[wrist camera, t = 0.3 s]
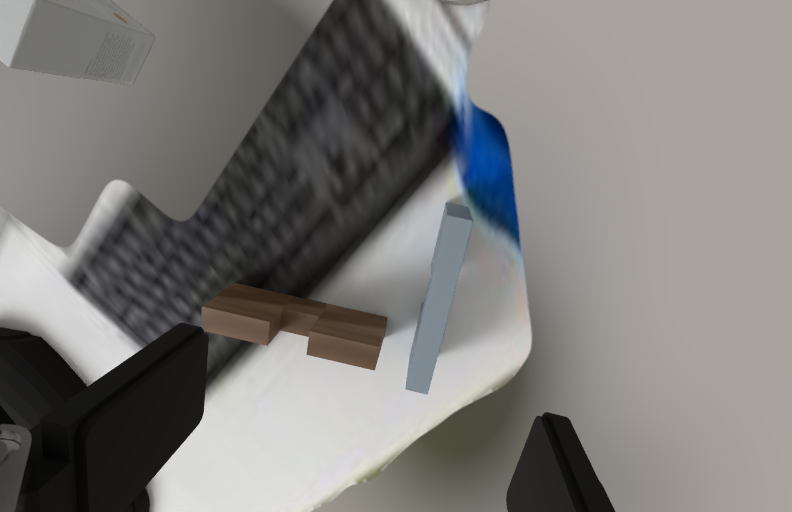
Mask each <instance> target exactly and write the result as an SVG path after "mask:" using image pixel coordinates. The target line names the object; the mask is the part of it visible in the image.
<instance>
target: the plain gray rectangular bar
mask: <svg viewBox="0 0 792 512" xmlns="http://www.w3.org/2000/svg"><path fill="white" fill-rule="evenodd" d="M472 224H473V219H472V216H471V214H470V211H469V209H468V207H464V206H459V205H454V204H450V203H446V204H445V209H444V213H443V217H442V221H441V226H440V230H439V234H438V238H437V243H436V247H435V251H434V255H433V260H432V264H431V276H430V280H429V284H428V289H427V293H426V297H425V301H424V303H422V306H421V310H420V315H419V319H418V323H417V327H416V332H415V336H414V340H413V344H412V349H411V353H410V359H409V366H408V374H407V381H406V390H411V391H415V392H419V393H423V394H428V391H429V387H430V383H431V379H432V376H433V372H434V368H435V364H436V360H437V357H438V353H439V349H440V345H441V341H442V338H443V334H444V330H445V326H446V322H447V319H448V315H449V311H450V307H451V303H452V300H453V296H454V292H455V288H456V284H457V281H458V277H459V273H460V269H461V265H462V262H463V258H464V254H465V250H466V246H467V243H468V239H469V235H470V231H471V227H472Z"/></svg>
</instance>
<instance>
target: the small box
mask: <svg viewBox="0 0 792 512" xmlns="http://www.w3.org/2000/svg"><path fill="white" fill-rule="evenodd" d="M154 40H155V36H154V35H153V34H152V33H151V32H149V31H148V30H147V29H146V28H145V27H143V26H142V25H141V24H140V23H139V22H137V21H136V20H135V19H134V18H133V17H131V16H130V15H129V14H128V13H126V12H125V11H124V10H123V9H122V8H120V7H119V6H118V5H117V4H115V3H114V2H113V1H112V0H0V61H1V62H2V63H3V64H5V65H6V66H7V67H9V68H14V69H20V70H28V71H34V72H41V73H48V74H55V75H62V76H69V77H76V78H82V79H90V80H96V81H103V82H109V83H116V84H123V85H131V86H132V85H133V84H134V81H135V79H136V77H137V75H138V73H139V71H140V69H141V67H142V65H143V63H144V61H145V59H146V57H147V55H148V53H149V51H150V49H151V47H152V44H153V42H154Z"/></svg>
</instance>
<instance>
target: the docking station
mask: <svg viewBox="0 0 792 512" xmlns="http://www.w3.org/2000/svg"><path fill="white" fill-rule="evenodd" d="M86 387H87V386H86V385H85V383H84V382H83V381H82V380H81V379H80V378H79V376H78V375H77V374H76V373H75V372H74V371H73V370H72V369H71V368H70V366H69V365H68V364H67V363H66V362H65V361H64V360H63V359H62V358H61V356H60V355H59V354H58V353H57V352H56V351H55V350H54V349H53V348H52V347H51V346H50V345H49V344H48V343H47V342H45V341H44V340H43V339H42V338H41V337H39V336H33V335H30V334H29V333H28V332H23V331H17V330H11V329H5V328H0V425H1V424H11V425H19V426H21V427H24V428H26V429H27V430H28V431H29V430H30V429H32V428H33V427H35V426H36V425H38V424H39V423H40V419H41V418H43V417H44V416H46V415H47V414H49V413H50V412H52V411H53V410H54V409H56V408H57V407H59V406H60V405H62V404H63V403H65V402H66V401H68V400H69V399H70V398H72V397H73V396H75V395H76V394H78V393H79V392H81V391H82V390H83V389H85V388H86ZM124 512H149V498H148V494H147V492H146V489H145V488H144V489H143V490H142V491H141V492H140V493H139V495H138V496H137V497H136V498H135V499H134V500H133V502H132V503H131V504H130V505H129V506H128V507H127V509H126V510H125V511H124Z"/></svg>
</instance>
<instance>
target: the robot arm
mask: <svg viewBox="0 0 792 512" xmlns="http://www.w3.org/2000/svg"><path fill="white" fill-rule="evenodd" d="M440 1H442V2H446V3H450V4H454V5H471V4H476V3H481V2H484V1H486V0H440ZM208 342H209V337H208V335H207V334H204V330H203V328H202V327H198V326H194V325H190V324H186V323H180V324H178V325H176V326H175V327H173V328H172V329H171V330H169V331H168V332H166V333H165V334H163V335H162V336H160V337H159V338H158V339H156V340H155V341H153V342H152V343H150V344H149V345H147V346H146V347H144V348H143V349H142V350H140V351H139V352H137V353H136V354H134V355H133V356H131V357H130V358H128V359H127V360H126V361H124V362H123V363H121V364H120V365H118V366H117V367H115V368H114V369H113V370H111V371H110V372H108V373H107V374H105V375H104V376H102V377H101V378H99V379H98V380H97V381H95V382H94V383H92V384H91V385H89V386H88V387H86V388H85V389H83V390H82V391H81V392H79V393H78V394H76V395H75V396H73V397H72V398H70V399H69V400H68V401H66V402H65V403H63V404H62V405H60V406H59V407H57V408H56V409H54V410H53V411H52V412H50V413H49V414H47V415H46V416H44V417H43V418H41V419H40V423H39V424H38V425H36V426H35V427H33V428H32V429H30V430H29V431H28V430H27V429H26V428H24V427H21V426H19V425H11V424H1V425H0V512H124V511H125V510H126V509H127V507H128V506H129V505H130V504H131V503H132V502H133V500H134V499H135V498H136V497H137V496H138V495H139V493H140V492H141V491H142V490H143V489H144V488H145V486H146V485H147V484H148V483H149V482H150V481H151V479H152V478H153V477H154V476H155V475H156V474H157V472H158V471H159V470H160V469H161V468H162V467H163V465H164V464H165V463H166V462H167V461H168V460H169V458H170V457H171V456H172V455H173V454H174V453H175V451H176V450H177V449H178V448H179V447H180V446H181V444H182V443H183V442H184V441H185V440H186V439H187V437H188V436H189V435H190V434H191V433H192V432H193V430H194V429H195V428H196V427H197V426H198V424H199V423H200V421H201V419H202V416H203V412H204V400H205V385H206V371H207V356H208ZM506 502H507V509H508V512H615V510H614V508H613V506H612V504H611V502H610V500H609V498H608V496H607V494H606V492H605V490H604V488H603V486H602V484H601V483H600V481H599V480H598V478H597V476H596V474H595V472H594V470H593V467H592V465H591V463H590V461H589V459H588V457H587V455H586V453H585V451H584V449H583V447H582V445H581V443H580V440H579V439H578V436H577V434H576V432H575V430H574V428H573V426H572V424H571V422H570V420H569V418H567V417H564V416H560V415H556V414H552V413H548V412H546V413H544V414H543V415H542V417H541V416H537V417H536V418H535V420H534V423H533V425H532V428H531V431H530V433H529V436H528V438H527V441H526V443H525V446H524V449H523V451H522V454H521V456H520V459H519V462H518V464H517V467H516V469H515V472H514V475H513V477H512V480H511V482H510V485H509V488H508V491H507V498H506Z"/></svg>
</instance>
